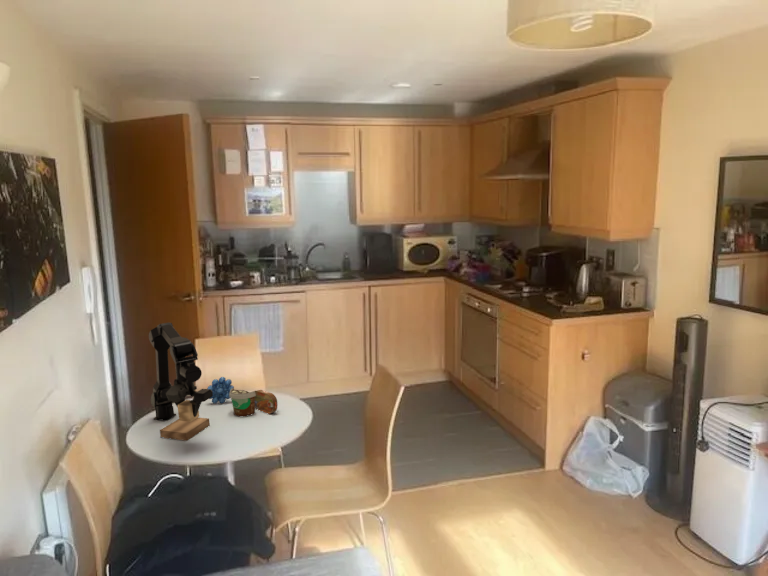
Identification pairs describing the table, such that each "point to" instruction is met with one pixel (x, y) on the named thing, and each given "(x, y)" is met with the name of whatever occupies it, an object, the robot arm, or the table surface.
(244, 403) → the food container
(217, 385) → the grapes
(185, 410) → the oak block
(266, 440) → the table surface
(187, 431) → the walnut board
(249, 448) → the table surface
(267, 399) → the tin
